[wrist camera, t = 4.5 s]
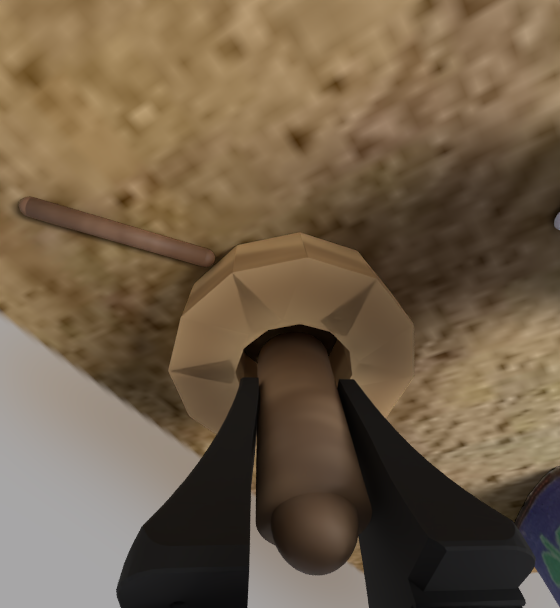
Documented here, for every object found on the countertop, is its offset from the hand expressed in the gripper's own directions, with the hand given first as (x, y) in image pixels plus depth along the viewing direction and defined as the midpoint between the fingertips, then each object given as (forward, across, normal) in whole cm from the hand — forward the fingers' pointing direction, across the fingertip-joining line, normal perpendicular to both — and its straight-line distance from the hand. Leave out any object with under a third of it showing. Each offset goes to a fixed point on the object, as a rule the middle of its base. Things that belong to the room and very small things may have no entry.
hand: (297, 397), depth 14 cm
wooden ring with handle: (+4, +3, -1) cm, 6 cm away
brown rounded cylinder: (+2, 0, 0) cm, 2 cm away
